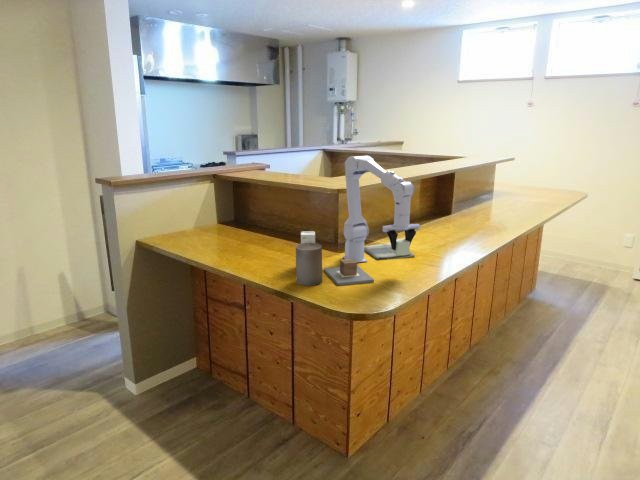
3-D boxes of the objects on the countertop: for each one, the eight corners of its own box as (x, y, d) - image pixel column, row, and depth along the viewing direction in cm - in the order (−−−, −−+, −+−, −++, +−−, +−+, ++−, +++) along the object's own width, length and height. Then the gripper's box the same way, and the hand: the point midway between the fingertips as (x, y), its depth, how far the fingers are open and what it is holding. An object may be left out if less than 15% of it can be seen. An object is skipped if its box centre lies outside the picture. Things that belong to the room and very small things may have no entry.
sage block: (391, 251, 174) (392, 239, 173) (403, 251, 175) (404, 238, 174) (397, 255, 169) (397, 242, 168) (409, 254, 171) (409, 241, 169)
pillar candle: (321, 277, 172) (321, 238, 168) (322, 285, 162) (322, 245, 159) (296, 277, 172) (295, 239, 168) (295, 286, 162) (294, 246, 158)
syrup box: (314, 264, 187) (314, 230, 183) (315, 269, 181) (315, 234, 177) (301, 264, 187) (300, 230, 183) (300, 269, 181) (300, 234, 177)
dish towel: (376, 261, 193) (377, 254, 192) (362, 250, 210) (362, 244, 209) (416, 258, 198) (416, 251, 197) (398, 247, 215) (399, 241, 214)
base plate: (323, 270, 180) (323, 267, 179) (357, 267, 183) (357, 265, 183) (337, 285, 163) (337, 282, 163) (374, 282, 166) (374, 279, 166)
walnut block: (339, 272, 174) (340, 259, 173) (352, 270, 176) (352, 258, 174) (344, 276, 170) (344, 263, 168) (356, 274, 171) (357, 262, 170)
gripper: (388, 217, 163) (387, 253, 166) (424, 215, 167) (422, 250, 170) (380, 213, 169) (379, 248, 173) (415, 211, 173) (413, 245, 177)
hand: (400, 249), depth 172 cm, fingers closed on sage block, 5 cm apart
